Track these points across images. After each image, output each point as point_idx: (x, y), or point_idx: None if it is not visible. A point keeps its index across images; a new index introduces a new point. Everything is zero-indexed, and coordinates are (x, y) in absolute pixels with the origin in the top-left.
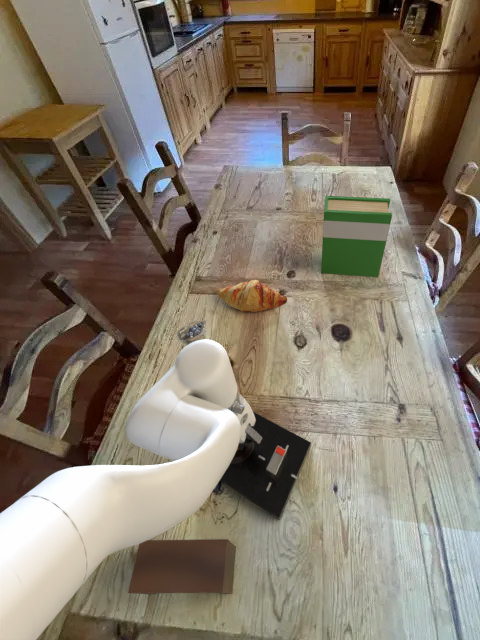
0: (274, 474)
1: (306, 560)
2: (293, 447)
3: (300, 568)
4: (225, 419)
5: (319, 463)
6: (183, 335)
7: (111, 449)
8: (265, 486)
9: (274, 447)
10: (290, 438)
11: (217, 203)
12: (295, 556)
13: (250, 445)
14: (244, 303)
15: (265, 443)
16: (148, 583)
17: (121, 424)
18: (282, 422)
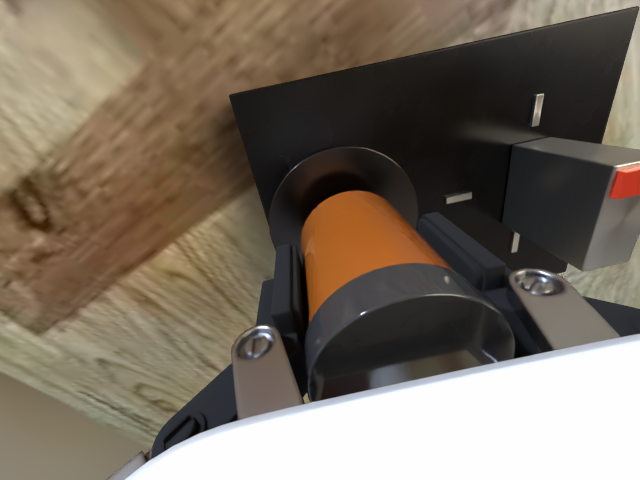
0: (622, 262)
1: (612, 265)
2: (562, 84)
3: (601, 280)
4: None
5: (625, 57)
6: None
7: (83, 402)
8: (503, 247)
9: (486, 138)
10: (540, 59)
11: None
12: (587, 274)
13: (403, 198)
14: None
15: (446, 151)
16: None
17: (22, 371)
18: (437, 13)
